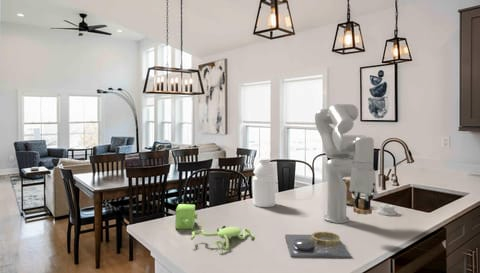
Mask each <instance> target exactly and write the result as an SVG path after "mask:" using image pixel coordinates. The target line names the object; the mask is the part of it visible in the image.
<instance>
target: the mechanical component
mask: <svg viewBox="0 0 480 273" xmlns="http://www.w3.org/2000/svg"><path fill="white" fill-rule="evenodd" d="M378 206H379V208H378V209H377V210H376V213H377V214H378V213H379V214H378V215H381V214H382V216H386V215H388V216H387V217H389V216H391V217H392V216H393V217H394V216H397V214H398V213H397V211H396V210H395V206H394V205H392V204H379V205H378Z"/></svg>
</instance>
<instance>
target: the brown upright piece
mask: <svg viewBox="0 0 480 273" xmlns="http://www.w3.org/2000/svg"><path fill="white" fill-rule="evenodd" d="M342 180H343V181H344V182H345V184H346V187H347V195H346V205H350V206H356V205H355V198H354V196H353V194H352V192H351V191H349V188H350V178H348V179H346V178H342Z"/></svg>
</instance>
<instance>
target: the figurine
mask: <svg viewBox="0 0 480 273" xmlns="http://www.w3.org/2000/svg"><path fill="white" fill-rule="evenodd" d="M216 231H217V232H212V233H210V232H209V233H206V232H205V230H204V229H196V230H194V231H191V235H192V236H191V237H190V241H193V240H194V239H195V237H196V234H201V235H202V236H205V237H218V236H219V237H221V238H224V239H225V245H226V246H225V245H224V243H223V241H221V240H219V239H218V240H216V241H215V244H216V245H217V248H219V250H220V251H221V253H222V254H224V251H223V249H224V250H225V251H227V250H228V249H230V240H229V239H230V238H233V237H237V238H239V240H244V239H245V237H246V233H247V234H249V238H250V239H254V238H255V234H253V232H252V231H250V230H249V229H247V228H244V229H242V230H241V228H240V227H237V226H227V227H226V225H223V226H222V227H219V228H216ZM241 232H242V235H240V234H241ZM220 245H221V246H220ZM221 247H222V248H223V249H222V248H221Z"/></svg>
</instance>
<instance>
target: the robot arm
mask: <svg viewBox="0 0 480 273" xmlns="http://www.w3.org/2000/svg"><path fill="white" fill-rule="evenodd" d="M358 117H359V109H358V107H357V106H356V105H355V104H352V103H350V104H349V103H348V104H347V103H342V104H341V103H336V104H333V105H331V106H329V108H322V109H319V110H317V111H316V112H315V115H314V121H315V122H314V123H315V128H316V129H317V131H318V133H319V135H320V138H321V142H322V146H323V151H324V153H325V156H326V157H327V158H329V160H326V163H325V174H326V180H327V181H326V189H327V190H326V193H327V194H326V196H327V197H326V214H325V215H324V216H323V220H325V221H326V222H328V223H334V224H346V223H348V222H350V217H349V216H347V204H346V195H347V187H346V184H345V182H344V181H343V180H342V179H343V178H349V179H350V188H349V191H351V192H352V196H353V198H354V199H355V205H354V206H355V207H356V208H358V199H359V198H361V194H364V195H365V199H366V200H365V201H364V209H365V210H368V209H370V208H371V206H372V205H371V201H372V200H373V199H374V198H376V197H379V193H378V191H377V176H376V172H375V169H374V155H375V154H374V152H375V150H374V149H375V148H374V147H375V144H374V143H375V140H374V138H373V137H371V136H366V135H363V134H362V135H361V134H360V135H359V134H349V135H348V134H347V133H349V132H350V131H351V130H352V129H353V128H354V125H355V124H354V121H356V120H357V119H358ZM331 125H334V127H332V126H331ZM345 134H347V135H345Z"/></svg>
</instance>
